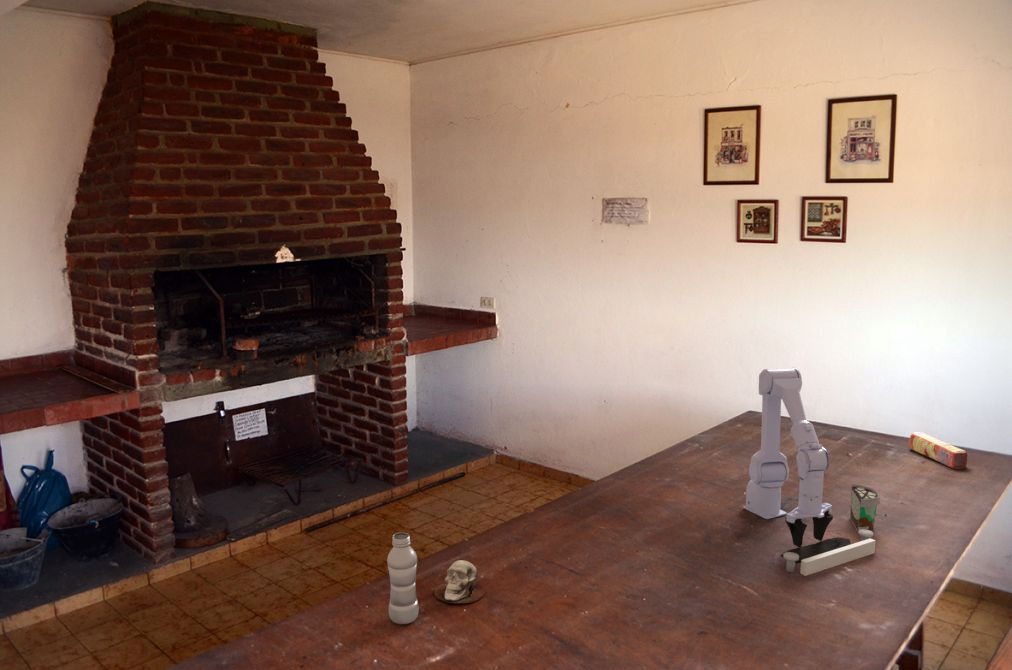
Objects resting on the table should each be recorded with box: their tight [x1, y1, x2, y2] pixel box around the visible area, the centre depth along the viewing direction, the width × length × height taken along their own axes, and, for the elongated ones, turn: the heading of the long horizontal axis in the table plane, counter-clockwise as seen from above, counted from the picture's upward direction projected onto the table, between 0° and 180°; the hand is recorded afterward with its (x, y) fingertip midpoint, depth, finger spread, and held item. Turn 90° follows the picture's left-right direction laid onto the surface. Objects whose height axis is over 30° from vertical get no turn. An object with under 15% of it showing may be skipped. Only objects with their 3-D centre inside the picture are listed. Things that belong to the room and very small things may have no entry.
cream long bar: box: [782, 529, 877, 577], centre depth 199 cm, size 6×31×4 cm, turn 117°
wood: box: [780, 536, 852, 564], centre depth 203 cm, size 22×7×3 cm, turn 113°
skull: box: [433, 559, 484, 604], centre depth 186 cm, size 12×10×10 cm
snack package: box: [908, 431, 968, 470], centre depth 271 cm, size 21×7×7 cm, turn 12°
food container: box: [849, 483, 881, 533], centre depth 218 cm, size 12×6×10 cm, turn 168°
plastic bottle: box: [386, 532, 420, 625], centre depth 173 cm, size 6×7×20 cm
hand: (807, 542), depth 206 cm, fingers open, 7 cm apart
